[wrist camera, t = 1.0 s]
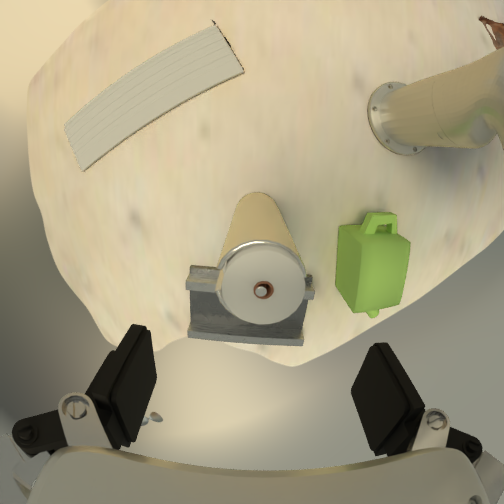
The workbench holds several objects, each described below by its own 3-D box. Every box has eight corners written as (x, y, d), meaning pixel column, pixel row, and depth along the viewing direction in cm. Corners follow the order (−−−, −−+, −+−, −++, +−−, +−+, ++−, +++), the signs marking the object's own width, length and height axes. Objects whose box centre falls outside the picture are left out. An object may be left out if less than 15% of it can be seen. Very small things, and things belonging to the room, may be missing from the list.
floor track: (311, 274, 45) (316, 285, 41) (298, 336, 49) (301, 350, 45) (191, 265, 44) (185, 275, 40) (192, 328, 49) (188, 341, 45)
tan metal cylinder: (252, 183, 40) (250, 223, 16) (286, 208, 41) (329, 281, 17) (227, 217, 41) (193, 300, 18) (261, 241, 43) (269, 344, 19)
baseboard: (64, 118, 35) (86, 170, 39) (55, 117, 33) (77, 172, 36) (212, 21, 31) (244, 73, 34) (209, 13, 28) (244, 68, 32)
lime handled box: (379, 300, 47) (402, 328, 38) (332, 306, 47) (349, 338, 38) (391, 206, 41) (423, 221, 32) (338, 207, 41) (364, 223, 32)
